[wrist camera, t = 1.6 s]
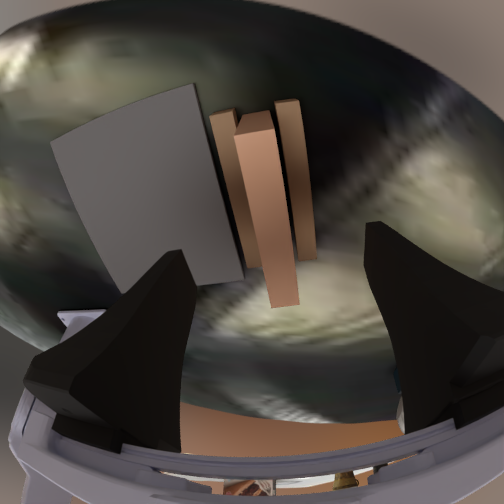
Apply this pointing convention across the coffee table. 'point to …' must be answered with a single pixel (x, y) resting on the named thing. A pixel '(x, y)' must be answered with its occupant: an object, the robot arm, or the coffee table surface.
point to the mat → (150, 189)
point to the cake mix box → (249, 487)
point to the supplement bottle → (378, 467)
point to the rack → (295, 170)
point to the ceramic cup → (344, 481)
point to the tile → (268, 205)
